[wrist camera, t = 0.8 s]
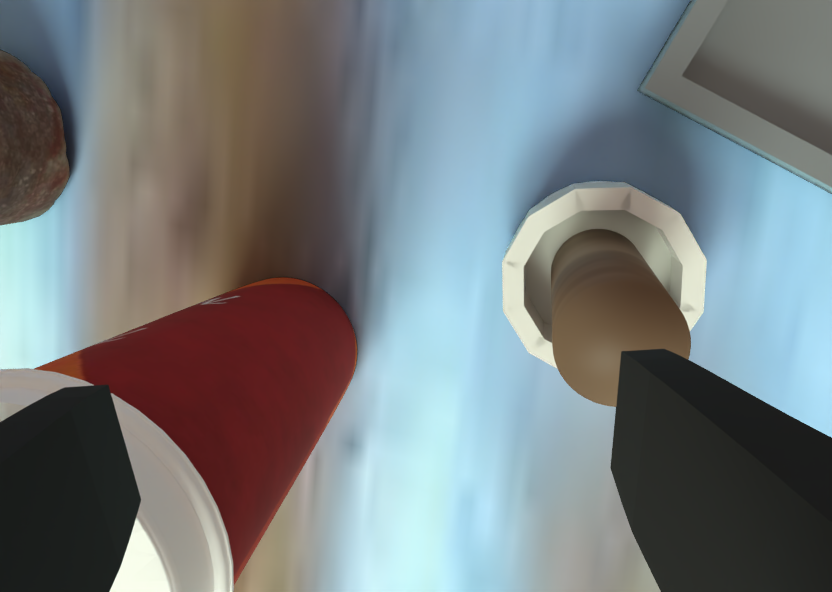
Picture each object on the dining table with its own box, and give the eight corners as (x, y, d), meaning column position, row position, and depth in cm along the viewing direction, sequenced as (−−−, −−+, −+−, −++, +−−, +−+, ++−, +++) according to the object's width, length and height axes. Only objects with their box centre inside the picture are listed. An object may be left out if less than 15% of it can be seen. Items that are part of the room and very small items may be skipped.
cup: (724, 235, 23) (747, 249, 20) (624, 380, 25) (633, 410, 22) (563, 148, 23) (565, 151, 21) (477, 298, 25) (469, 319, 23)
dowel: (661, 256, 23) (718, 323, 15) (611, 332, 24) (641, 429, 16) (580, 212, 23) (596, 256, 15) (534, 288, 24) (528, 366, 16)
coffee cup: (218, 222, 27) (-162, 335, 12) (409, 286, 26) (237, 489, 11) (182, 401, 29) (-168, 668, 15) (355, 465, 28) (160, 815, 14)
